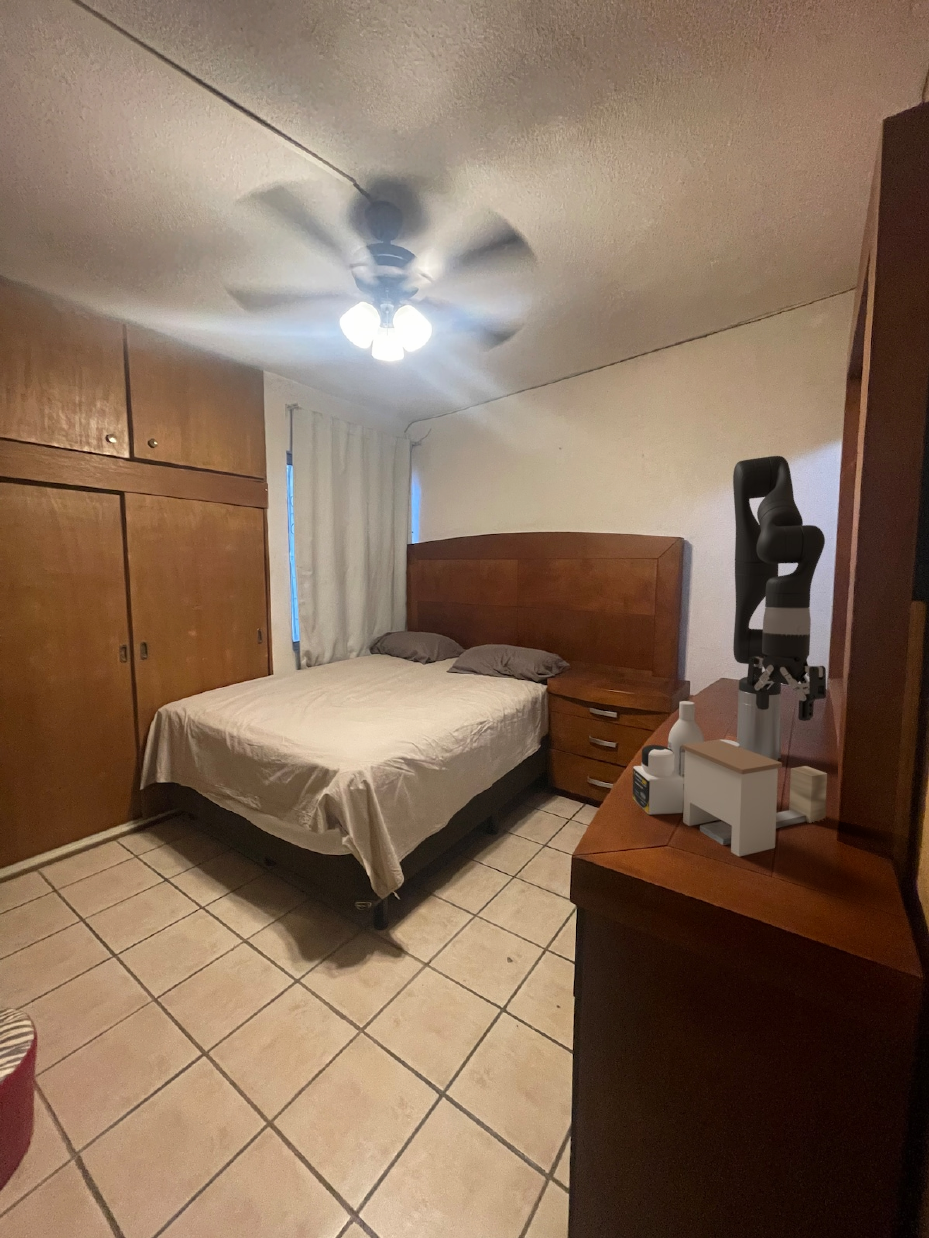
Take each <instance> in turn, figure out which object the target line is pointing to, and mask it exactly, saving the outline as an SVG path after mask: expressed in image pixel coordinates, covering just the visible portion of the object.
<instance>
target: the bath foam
mask: <svg viewBox="0 0 929 1238" xmlns="http://www.w3.org/2000/svg"><path fill="white" fill-rule="evenodd" d="M678 708H679V710H678V713H679V715H678V716H679V717H678V719H677V721H675V723H674V724H673V725H672V728H671V729H670V731H669V733H668V739H667V748H669V749H671V750H672V751H673V752H674V772H675V773H677V774H678V775H679V776H681V777H682V778H683V802H684V769H685V750H683V749H682V745H683V744H690V743H697V742H705V737H704V734H703V732H702V729H701V728H700V727H699V725H698V723H697V722H696V721H695V716H696V715H695V711H696V709H695V708H696V704H695V702H694V701H688V700H683V701H679V707H678Z"/></svg>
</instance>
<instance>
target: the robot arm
mask: <svg viewBox="0 0 929 1238" xmlns="http://www.w3.org/2000/svg"><path fill="white" fill-rule="evenodd" d="M732 486H733V487H732V488H733V490H732V491H733V501H734V519H735V543H734V544H735V547H734V550H735V551H734V582H735V583H734V584H735V587H734V588H735V612H734V613H735V616H734V628H733V629H734V630H733V649H732V650H733V656H734V657H733V658H734V659H735V661H736V662H737V663H739V664H745V665H747V666H748V667H747V676H744V677H741V678H740V679H739V681H738V695H737V696H738V698H737V701H738V704H737V725H736V726H737V731H736V742H737V743H739V744H740V748H743V749H746V750H748V751H751V752H754V753H756V754H759V755H762V756H765V757H767V758H770V759H773V760H776V761H778V760H779V759H781V758H782V757H781V756H782V735H783V733H782V731H783V730H782V729H783V722H782V721H781V702H782V701H781V698H782V695H781V694H782V685H784V686H790V688H791V690H792V691H795V693H796V694H797V696H798V698H799V700H798V720H799V721H801V722H806V721H810V720H811V719H812V718H813V716H814V705H815V702H816V700H824V699H826V698H827V677H826V676H827V673H826V672H827V670H826V666H824V665H809V664H808V657H809V656H810V650H811V649H810V648H811V647H810V645H811V644H810V643H811V642H810V641H811V626H812V624H811V621H812V620H811V619H812V618H811V609H810V606H811V587H812V582H813V579H814V575H815V572H816V568H817V566H818V564H819V561H820V559H821V556H822V553H823V550H824V548H825V544H826V543H825V542H826V539H825V534H824V531H822V529H821V528H820V527H818V526H816V525H811V524H810V525H809V524H807V525H806V524H805V525H804V523H803V522H804V521H803V517H802V514H801V512H800V511H799V508H798V506H797V504H796V501H795V498H794V488H793V487H794V486H793V481H792V475H791V469H790V465H789V462H788V460H787V459H786V458H785V457H783V456H781V455H773V456H766V457H765V456H764V457H763V456H762V457H757V458H750V459H744V460H739V461H738V462H737V463H736V464H735V466H734V468H733V475H732ZM761 498H762V500H761V502H760V503H759V506H758V508H757V512H756V515H757V518H756V517H755V515H754V513H753V511H752V508H751V504H750V502H751V501H750V499H761ZM779 564H797V566H796V568H795V569H794V571H793V572H790V573H789V574H784V575H779ZM764 599H765V603H764V607H765V608H764V613H763V619H762V621H763V622H762V629H761V628H750V622H751V619H752V617H753V615H754V613H755V611H756V610H757V609H758V607H759V605H760V604H762V603H761V602H762V601H763V600H764ZM763 669H764V671H763ZM807 677H808V678H807ZM778 762H779V761H778Z"/></svg>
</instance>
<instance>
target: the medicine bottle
mask: <svg viewBox="0 0 929 1238" xmlns="http://www.w3.org/2000/svg"><path fill="white" fill-rule="evenodd" d="M632 799H633V800H634V802H635V803H636V804H637V805H638V806H639V807H640V808H641V809H642V810H643V811H644V812H645V813H646V814H647V815H649V816H650V815H652V816H653V815H669V814H670V815H671V814H683V808H684V801H683V778H682V777H681V776H679V775H678V774H677V773H675V772H674V752H673V751H672V750H671V749H669V748H668V746H664V745H659V744H650V745H645V746H644V747H642V748H641V765H634V766H633V767H632Z"/></svg>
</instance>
